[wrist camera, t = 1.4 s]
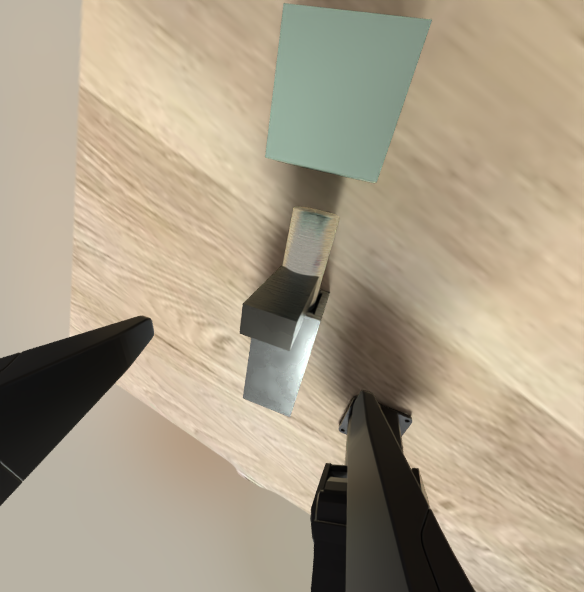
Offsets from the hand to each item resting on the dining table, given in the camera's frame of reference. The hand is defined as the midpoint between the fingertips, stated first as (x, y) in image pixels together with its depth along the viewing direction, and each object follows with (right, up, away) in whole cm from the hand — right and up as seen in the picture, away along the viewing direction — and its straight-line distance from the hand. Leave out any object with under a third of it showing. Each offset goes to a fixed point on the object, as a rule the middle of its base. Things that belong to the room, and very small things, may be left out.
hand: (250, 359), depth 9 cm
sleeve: (+2, -1, +15) cm, 15 cm away
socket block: (+5, +14, +7) cm, 17 cm away
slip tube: (+2, +2, +13) cm, 13 cm away
